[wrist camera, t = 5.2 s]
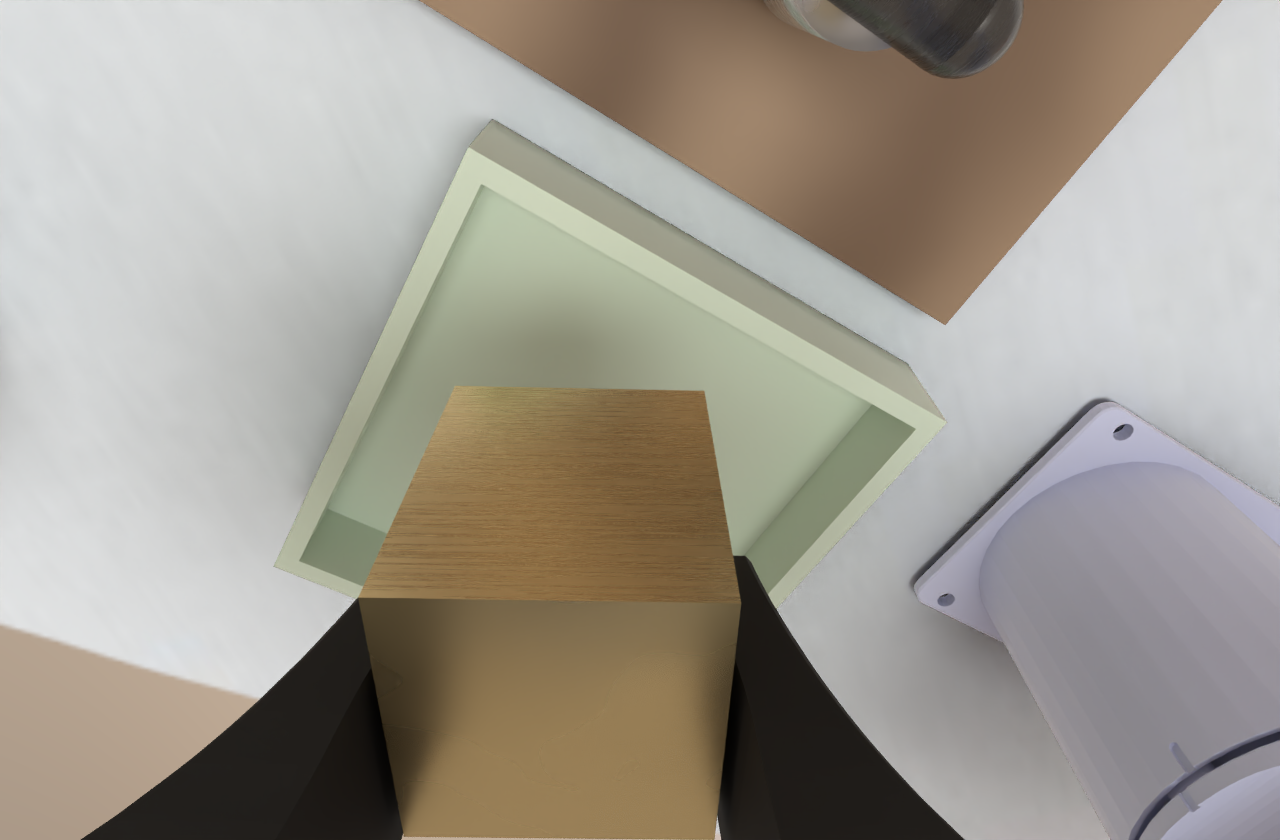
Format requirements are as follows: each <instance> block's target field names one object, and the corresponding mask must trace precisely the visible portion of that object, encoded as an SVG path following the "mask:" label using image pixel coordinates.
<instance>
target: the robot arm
mask: <svg viewBox="0 0 1280 840" xmlns="http://www.w3.org/2000/svg"><path fill="white" fill-rule="evenodd" d="M1123 424H1125V426H1124V427H1123V429H1122V430H1120V431H1118V432H1115V433H1113V432H1114V431H1115V429H1116V428H1117V427H1119V426H1120V425H1123ZM733 559H734V565H735V570H736V576H737V582H738V588H739V594H740V599H741V610H740V618H739V627H738V636H737V645H736V654H735V663H734V671H733V680H732V689H731V698H730V707H729V715H728V724H727V733H726V742H725V751H724V759H723V768H722V777H721V786H720V795H719V803H718V812H717V816H718V822H719V828H720V834H721V840H964V839H963V838H962V837H961V836H960V835H959V834H958V833H957V832H956V831H955V830H954V829H953V828H952V827H951V826H950V825H949V824H948V823H947V822H946V821H945V820H944V819H943V818H942V817H941V816H939V815H938V814H937V813H936V812H935V811H934V810H933V809H932V808H931V807H930V806H929V805H928V804H927V803H926V802H925V801H924V800H923V799H922V798H921V797H920V796H919V795H918V794H917V793H916V792H915V791H914V790H913V788H912V787H911V786H910V785H909V784H908V783H907V782H906V781H905V780H904V779H903V778H902V777H901V776H900V775H899V773H898V772H897V771H896V770H895V769H894V768H893V767H892V766H891V765H890V764H889V763H888V761H887V760H886V759H885V758H884V757H883V756H882V754H881V753H880V752H879V751H878V750H877V749H876V748H875V746H874V745H873V744H872V743H871V742H870V741H869V739H868V738H867V737H866V736H865V735H864V733H863V732H862V731H861V730H860V729H859V727H858V726H857V725H856V724H855V722H854V721H853V720H852V719H851V717H850V716H849V715H848V714H847V712H846V711H845V710H844V708H843V707H842V706H841V704H840V703H839V702H838V700H837V699H836V698H835V696H834V695H833V694H832V692H831V691H830V690H829V688H828V687H827V686H826V684H825V683H824V682H823V680H822V679H821V677H820V676H819V675H818V673H817V672H816V670H815V669H814V668H813V666H812V665H811V663H810V662H809V660H808V659H807V657H806V655H805V654H804V652H803V651H802V649H801V648H800V646H799V645H798V643H797V642H796V640H795V639H794V637H793V636H792V634H791V633H790V631H789V629H788V628H787V626H786V625H785V623H784V621H783V620H782V618H781V616H780V615H779V613H778V611H777V610H776V608H775V606H774V604H773V603H772V601H771V599H770V597H769V596H768V594H767V592H766V590H765V588H764V586H763V585H762V583H761V581H760V579H759V577H758V575H757V573H756V571H755V569H754V567H753V565H752V562H751V561H750V560H749V559H748V558H747V557H746V556H733ZM914 591H915V593H916V596H917V598H918V600H919V601H920V602H921V603H923V604H925V605H927V606H929V607H931V608H933V609H935V610H937V611H939V612H941V613H943V614H945V615H947V616H949V617H951V618H953V619H956V620H958V621H960V622H962V623H964V624H966V625H968V626H970V627H972V628H974V629H976V630H978V631H980V632H982V633H984V634H986V635H988V636H990V637H992V638H994V639H996V640H999V641H1001V642H1003V643H1004V644H1005V646H1006V648H1007V650H1008V652H1009V653H1010V655H1011V657H1012V659H1013V661H1014V663H1015V664H1016V666H1017V668H1018V670H1019V672H1020V674H1021V676H1022V677H1023V679H1024V681H1025V683H1026V685H1027V687H1028V688H1029V690H1030V692H1031V694H1032V696H1033V698H1034V700H1035V701H1036V703H1037V705H1038V707H1039V709H1040V711H1041V712H1042V714H1043V716H1044V718H1045V720H1046V722H1047V724H1048V725H1049V727H1050V729H1051V731H1052V733H1053V735H1054V736H1055V738H1056V740H1057V742H1058V744H1059V746H1060V748H1061V749H1062V751H1063V753H1064V755H1065V757H1066V759H1067V760H1068V762H1069V764H1070V766H1071V768H1072V770H1073V771H1074V773H1075V775H1076V777H1077V779H1078V781H1079V783H1080V784H1081V786H1082V788H1083V790H1084V792H1085V794H1086V795H1087V797H1088V799H1089V801H1090V803H1091V805H1092V807H1093V808H1094V810H1095V812H1096V814H1097V816H1098V818H1099V819H1100V821H1101V823H1102V825H1103V827H1104V829H1105V831H1106V832H1107V834H1108V836H1109V838H1110V840H1280V506H1279V505H1277V504H1276V503H1274V502H1273V501H1271V500H1270V499H1268V498H1266V497H1265V496H1263V495H1262V494H1260V493H1258V492H1257V491H1255V490H1254V489H1252V488H1251V487H1249V486H1247V485H1246V484H1244V483H1243V482H1241V481H1239V480H1238V479H1236V478H1235V477H1233V476H1232V475H1230V474H1228V473H1227V472H1225V471H1224V470H1222V469H1220V468H1219V467H1217V466H1216V465H1214V464H1212V463H1211V462H1209V461H1208V460H1206V459H1205V458H1203V457H1201V456H1200V455H1198V454H1197V453H1195V452H1193V451H1192V450H1190V449H1189V448H1187V447H1186V446H1184V445H1182V444H1181V443H1179V442H1178V441H1176V440H1174V439H1173V438H1171V437H1170V436H1168V435H1167V434H1165V433H1163V432H1162V431H1160V430H1159V429H1157V428H1155V427H1154V426H1152V425H1151V424H1149V423H1148V422H1146V421H1144V420H1143V419H1141V418H1140V417H1138V416H1136V415H1135V414H1133V413H1132V412H1130V411H1129V410H1127V409H1125V408H1124V407H1122V406H1121V405H1119V404H1117V403H1114V402H1103V403H1100V404H1098V405H1096V406H1095V407H1093V408H1092V409H1090V410H1089V411H1088V412H1087V413H1086V414H1085V415H1084V416H1083V417H1082V418H1081V419H1080V420H1079V421H1078V422H1077V423H1076V424H1075V425H1074V426H1073V427H1072V428H1071V429H1070V430H1069V431H1068V432H1067V433H1066V434H1065V435H1064V436H1063V437H1062V438H1061V439H1060V440H1059V441H1058V442H1057V443H1056V444H1055V445H1054V446H1053V447H1052V448H1051V449H1050V450H1049V451H1048V452H1047V453H1046V454H1045V455H1044V456H1043V457H1042V458H1041V459H1040V460H1039V461H1038V462H1037V463H1036V464H1035V465H1034V466H1033V467H1032V468H1031V469H1030V470H1029V471H1028V472H1027V473H1026V474H1025V475H1024V476H1023V477H1022V478H1021V479H1020V480H1019V481H1017V482H1016V483H1015V484H1014V485H1013V486H1012V487H1011V488H1010V489H1009V490H1008V491H1007V492H1006V493H1005V494H1004V495H1003V496H1002V497H1001V498H1000V499H999V500H998V501H997V502H996V503H995V504H994V505H993V506H992V507H991V508H990V509H989V510H988V511H987V512H986V513H985V514H984V515H983V516H982V517H981V518H980V519H979V520H978V521H977V522H976V523H975V524H974V525H973V526H972V527H971V528H970V529H969V530H968V531H967V532H966V533H965V534H964V535H963V536H962V537H961V538H960V539H959V540H958V541H957V542H956V543H955V544H954V545H953V546H952V547H951V548H950V549H949V550H948V551H947V552H946V553H945V554H944V555H942V556H941V557H940V558H939V559H938V560H937V561H936V562H935V563H934V564H933V565H932V566H931V567H930V568H929V569H928V570H927V571H926V572H925V573H924V574H923V575H922V576H921V577H920V578H919V579H918V580H917V582H916V583H915V585H914ZM943 594H948V595H946V596H945V597H940V596H942V595H943ZM402 835H403V829H402V824H401V819H400V813H399V808H398V803H397V798H396V792H395V787H394V782H393V777H392V772H391V766H390V761H389V756H388V751H387V745H386V740H385V735H384V730H383V725H382V719H381V714H380V709H379V704H378V698H377V693H376V688H375V683H374V678H373V672H372V667H371V662H370V657H369V651H368V646H367V641H366V636H365V630H364V625H363V620H362V615H361V610H360V604H359V599H358V598H357V599H356V600H355V601H354V603H353V604H352V605H351V606H350V607H349V608H348V609H347V610H346V612H345V613H344V614H343V615H342V616H341V617H340V618H339V619H338V620H337V621H336V623H335V624H334V625H333V626H332V627H331V628H330V629H329V630H328V631H327V632H326V633H325V634H324V635H323V636H322V638H321V639H320V640H319V641H318V642H317V643H316V644H315V645H314V646H313V647H312V648H311V649H310V650H309V651H308V652H307V654H306V655H305V656H304V657H303V658H302V659H301V660H300V661H299V662H298V663H297V664H296V665H295V666H294V667H293V668H291V669H290V670H289V671H288V672H287V673H286V674H285V675H284V676H283V677H282V678H281V679H280V680H279V681H278V682H277V683H276V684H275V685H274V686H273V687H272V688H271V689H270V690H269V691H268V692H267V693H266V694H265V695H264V696H263V697H262V698H261V699H260V700H259V701H258V702H256V703H255V704H254V705H253V706H252V707H251V708H250V709H249V710H248V711H247V712H246V713H244V714H243V715H242V716H241V717H240V718H239V719H238V720H237V721H235V722H234V723H233V724H232V725H231V726H230V727H229V728H227V729H226V730H225V731H224V732H223V733H222V734H221V735H220V736H218V737H217V738H216V739H215V740H213V741H212V742H211V743H210V744H209V745H207V746H206V747H205V748H204V749H203V750H202V751H200V752H199V753H198V754H197V755H195V756H194V757H193V758H192V759H190V760H189V761H188V762H187V763H186V764H184V765H183V766H181V767H180V768H179V769H178V770H176V771H175V772H174V773H172V774H171V775H170V776H169V777H167V778H166V779H165V780H163V781H162V782H161V783H159V784H158V785H157V786H155V787H154V788H153V789H151V790H150V791H148V792H147V793H146V794H144V795H143V796H142V797H140V798H139V799H138V800H137V801H135V802H134V803H132V804H131V805H130V806H128V807H127V808H126V809H124V810H123V811H122V812H121V813H119V814H118V815H116V816H115V817H113V818H112V819H110V820H109V821H108V822H106V823H105V824H103V825H102V826H100V827H99V828H97V829H96V830H94V831H93V832H91V833H90V834H88V835H87V836H85V837H84V838H83V839H81V840H401V839H402Z"/></svg>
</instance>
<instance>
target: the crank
mask: <svg viewBox="0 0 1280 840" xmlns="http://www.w3.org/2000/svg"><path fill="white" fill-rule="evenodd" d="M763 2H764V3H765V4H766V6H767V7H768V9H769V10H770V11H771V12H772V13H773V14H774V15H775V16H776V17H778V18H779V19H780V20H782V21H783V22H785V23H787V24H789V25H791V26H793V27H796V28H798V29H800V30H803V31H805V32H807V33H810V34H812V35H814V36H817V37H819V38H821V39H824V40H826V41H828V42H831V43H833V44H835V45H838V46H840V47H843V48H846V49H850V50H854V51H865V52H866V51H878V50H883V49H888V48H891V47H892V48H893V49H895V50H896V51H898V52H899V53H900V54H902V55H903V56H905V57H906V58H907V59H909V60H910V61H911V62H913V63H914V64H916V65H917V66H918V67H920V68H921V69H922V70H924V71H926V72H928V73H929V74H931V75H933V76H937V77H940V78H946V79H960V78H966V77H970V76H973V75H975V74H978V73H980V72H982V71H984V70H986V69H988V68H989V67H990V66H992V65H993V64H994V63H996V62H997V61H998V60H999V59H1000V58H1001V57H1002V56H1003V55H1004V54H1005V53H1006V52H1007V51H1008V49H1009V48H1010V47H1011V45H1012V44H1013V42H1014V40H1015V38H1016V36H1017V34H1018V32H1019V30H1020V27H1021V24H1022V18H1023V13H1024V0H763Z"/></svg>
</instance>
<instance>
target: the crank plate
mask: <svg viewBox="0 0 1280 840" xmlns="http://www.w3.org/2000/svg"><path fill="white" fill-rule="evenodd" d="M419 1H421V2H423V3H424V4H426V5H428V6H429V7H431V8H432V9H434V10H436V11H437V12H439V13H441V14H442V15H444V16H445V17H447V18H449V19H450V20H452V21H453V22H455V23H457V24H458V25H460V26H462V27H463V28H465V29H466V30H468V31H470V32H471V33H473V34H475V35H476V36H478V37H479V38H481V39H483V40H484V41H486V42H487V43H489V44H491V45H492V46H494V47H496V48H497V49H499V50H500V51H502V52H504V53H505V54H507V55H509V56H510V57H512V58H513V59H515V60H517V61H518V62H520V63H521V64H523V65H525V66H526V67H528V68H530V69H531V70H533V71H534V72H536V73H538V74H539V75H541V76H543V77H544V78H546V79H547V80H549V81H551V82H552V83H554V84H555V85H557V86H559V87H560V88H562V89H564V90H565V91H567V92H568V93H570V94H572V95H573V96H575V97H577V98H578V99H580V100H581V101H583V102H585V103H586V104H588V105H589V106H591V107H593V108H594V109H596V110H598V111H599V112H601V113H602V114H604V115H606V116H607V117H609V118H611V119H612V120H614V121H615V122H617V123H619V124H620V125H622V126H623V127H625V128H627V129H628V130H630V131H632V132H633V133H635V134H636V135H638V136H640V137H641V138H643V139H645V140H646V141H648V142H649V143H651V144H653V145H654V146H656V147H657V148H659V149H661V150H662V151H664V152H666V153H667V154H669V155H670V156H672V157H674V158H675V159H677V160H679V161H680V162H682V163H683V164H685V165H687V166H688V167H690V168H691V169H693V170H695V171H696V172H698V173H700V174H701V175H703V176H704V177H706V178H708V179H709V180H711V181H713V182H714V183H716V184H717V185H719V186H721V187H722V188H724V189H725V190H727V191H729V192H730V193H732V194H734V195H735V196H737V197H738V198H740V199H742V200H743V201H745V202H747V203H748V204H750V205H751V206H753V207H755V208H756V209H758V210H760V211H761V212H763V213H764V214H766V215H768V216H769V217H771V218H772V219H774V220H776V221H777V222H779V223H781V224H782V225H784V226H785V227H787V228H789V229H790V230H792V231H794V232H795V233H797V234H798V235H800V236H802V237H803V238H805V239H806V240H808V241H810V242H811V243H813V244H815V245H816V246H818V247H819V248H821V249H823V250H824V251H826V252H828V253H829V254H831V255H832V256H834V257H836V258H837V259H839V260H840V261H842V262H844V263H845V264H847V265H849V266H850V267H852V268H853V269H855V270H857V271H858V272H860V273H862V274H863V275H865V276H866V277H868V278H870V279H871V280H873V281H874V282H876V283H878V284H879V285H881V286H883V287H884V288H886V289H887V290H889V291H891V292H892V293H894V294H896V295H897V296H899V297H900V298H902V299H904V300H905V301H907V302H908V303H910V304H912V305H913V306H915V307H917V308H918V309H920V310H921V311H923V312H925V313H926V314H928V315H930V316H931V317H933V318H934V319H936V320H938V321H939V322H941V323H942V324H944V325H946V324H947V323H948V321H949V320H950V319H951V318H952V317H953V315H954V314H955V313H956V312H957V311H958V310H959V308H960V307H961V306H962V305H963V304H964V303H965V301H966V300H967V299H968V298H969V297H970V296H971V294H972V293H973V292H974V291H975V290H976V289H977V287H978V286H979V285H980V284H981V283H982V281H983V280H984V279H985V278H986V277H987V276H988V274H989V273H990V272H991V271H992V270H993V269H994V267H995V266H996V265H997V264H998V263H999V262H1000V260H1001V259H1002V258H1003V257H1004V256H1005V255H1006V253H1007V252H1008V251H1009V250H1010V249H1011V248H1012V246H1013V245H1014V244H1015V243H1016V242H1017V240H1018V239H1019V238H1020V237H1021V236H1022V235H1023V233H1024V232H1025V231H1026V230H1027V229H1028V228H1029V226H1030V225H1031V224H1032V223H1033V222H1034V221H1035V219H1036V218H1037V217H1038V216H1039V215H1040V214H1041V212H1042V211H1043V210H1044V209H1045V208H1046V206H1047V205H1048V204H1049V203H1050V202H1051V201H1052V199H1053V198H1054V197H1055V196H1056V195H1057V194H1058V192H1059V191H1060V190H1061V189H1062V188H1063V187H1064V185H1065V184H1066V183H1067V182H1068V181H1069V180H1070V178H1071V177H1072V176H1073V175H1074V174H1075V172H1076V171H1077V170H1078V169H1079V168H1080V167H1081V165H1082V164H1083V163H1084V162H1085V161H1086V160H1087V158H1088V157H1089V156H1090V155H1091V154H1092V153H1093V151H1094V150H1095V149H1096V148H1097V147H1098V146H1099V144H1100V143H1101V142H1102V141H1103V140H1104V138H1105V137H1106V136H1107V135H1108V134H1109V133H1110V131H1111V130H1112V129H1113V128H1114V127H1115V126H1116V124H1117V123H1118V122H1119V121H1120V120H1121V119H1122V117H1123V116H1124V115H1125V114H1126V113H1127V112H1128V110H1129V109H1130V108H1131V107H1132V106H1133V104H1134V103H1135V102H1136V101H1137V100H1138V99H1139V97H1140V96H1141V95H1142V94H1143V93H1144V92H1145V90H1146V89H1147V88H1148V87H1149V86H1150V85H1151V83H1152V82H1153V81H1154V80H1155V79H1156V78H1157V76H1158V75H1159V74H1160V73H1161V72H1162V70H1163V69H1164V68H1165V67H1166V66H1167V65H1168V63H1169V62H1170V61H1171V60H1172V59H1173V58H1174V56H1175V55H1176V54H1177V53H1178V52H1179V51H1180V49H1181V48H1182V47H1183V46H1184V45H1185V44H1186V42H1187V41H1188V40H1189V39H1190V38H1191V37H1192V35H1193V34H1194V33H1195V32H1196V31H1197V29H1198V28H1199V27H1200V26H1201V25H1202V24H1203V22H1204V21H1205V20H1206V19H1207V18H1208V17H1209V15H1210V14H1211V13H1212V12H1213V11H1214V10H1215V8H1216V7H1217V6H1218V5H1219V4H1220V3H1221V1H1222V0H1024V13H1023V18H1022V24H1021V27H1020V30H1019V32H1018V34H1017V36H1016V38H1015V40H1014V42H1013V44H1012V45H1011V47H1010V48H1009V49H1008V51H1007V52H1006V53H1005V54H1004V55H1003V56H1002V57H1001V58H1000V59H999V60H998V61H997V62H996V63H994V64H993V65H992V66H990V67H989V68H988V69H986V70H984V71H982V72H980V73H978V74H975V75H973V76H970V77H966V78H960V79H946V78H940V77H937V76H933V75H931V74H929V73H928V72H926V71H924V70H922V69H921V68H920V67H918V66H917V65H916V64H914V63H913V62H911V61H910V60H909V59H907V58H906V57H905V56H903V55H902V54H900V53H899V52H898V51H896V50H895V49H893V48H892V47H891V48H888V49H883V50H878V51H866V52H865V51H854V50H850V49H846V48H843V47H840V46H838V45H835V44H833V43H831V42H828V41H826V40H824V39H821V38H819V37H817V36H814V35H812V34H810V33H807V32H805V31H803V30H800V29H798V28H796V27H793V26H791V25H789V24H787V23H785V22H783V21H782V20H780V19H779V18H778V17H776V16H775V15H774V14H773V13H772V12H771V11H770V10H769V9H768V7H767V6H766V4H765V3H764V2H763V0H419Z"/></svg>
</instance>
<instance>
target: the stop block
mask: <svg viewBox="0 0 1280 840" xmlns="http://www.w3.org/2000/svg"><path fill="white" fill-rule="evenodd" d="M358 599H359V604H360V610H361V615H362V620H363V625H364V630H365V636H366V641H367V646H368V651H369V657H370V662H371V667H372V672H373V678H374V683H375V688H376V693H377V698H378V704H379V709H380V714H381V719H382V725H383V730H384V735H385V740H386V745H387V751H388V756H389V761H390V766H391V772H392V777H393V782H394V787H395V792H396V798H397V803H398V808H399V813H400V819H401V824H402V829H403V834H404V837H491V838H585V839H586V838H587V839H594V838H595V839H680V840H685V839H686V840H714V838H715V830H716V821H717V812H718V803H719V795H720V786H721V777H722V768H723V759H724V751H725V742H726V733H727V724H728V715H729V707H730V698H731V689H732V680H733V671H734V663H735V654H736V645H737V636H738V627H739V618H740V610H741V599H740V594H739V588H738V582H737V576H736V570H735V565H734V559H733V553H732V547H731V542H730V536H729V530H728V524H727V519H726V513H725V507H724V501H723V495H722V490H721V484H720V478H719V472H718V467H717V461H716V455H715V449H714V444H713V438H712V432H711V426H710V420H709V415H708V409H707V403H706V397H705V392H704V391H691V390H641V389H592V388H542V387H492V386H455V387H454V389H453V391H452V393H451V396H450V398H449V400H448V402H447V404H446V407H445V409H444V411H443V413H442V415H441V417H440V420H439V422H438V424H437V426H436V428H435V431H434V433H433V435H432V437H431V439H430V442H429V444H428V446H427V448H426V450H425V452H424V455H423V457H422V459H421V461H420V463H419V466H418V468H417V470H416V472H415V474H414V477H413V479H412V481H411V483H410V485H409V487H408V490H407V492H406V494H405V496H404V498H403V501H402V503H401V505H400V507H399V509H398V512H397V514H396V516H395V518H394V520H393V522H392V525H391V527H390V529H389V531H388V533H387V536H386V538H385V540H384V542H383V544H382V546H381V549H380V551H379V553H378V555H377V557H376V560H375V562H374V564H373V566H372V568H371V571H370V573H369V575H368V577H367V579H366V581H365V584H364V586H363V588H362V590H361V592H360V595H359V597H358Z"/></svg>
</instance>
